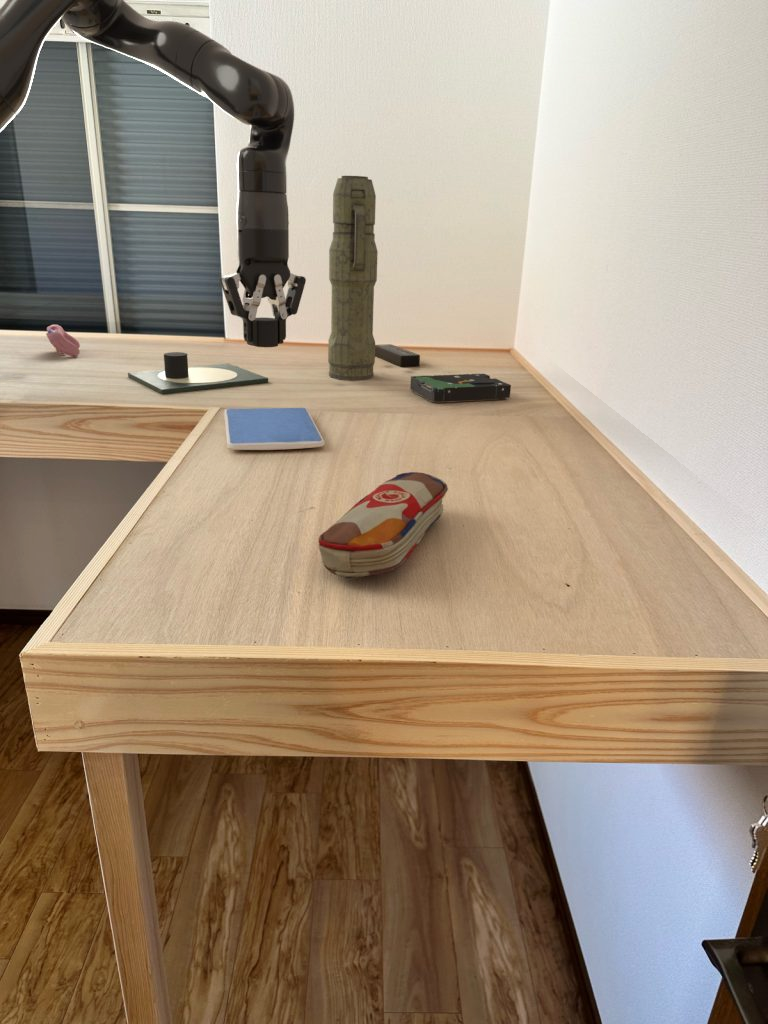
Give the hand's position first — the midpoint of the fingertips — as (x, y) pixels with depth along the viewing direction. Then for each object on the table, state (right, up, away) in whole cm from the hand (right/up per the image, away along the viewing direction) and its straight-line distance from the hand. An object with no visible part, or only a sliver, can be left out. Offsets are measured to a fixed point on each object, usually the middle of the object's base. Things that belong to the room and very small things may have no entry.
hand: (265, 343), depth 114 cm
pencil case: (+19, -29, -45) cm, 57 cm away
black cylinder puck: (0, 0, 0) cm, 0 cm away
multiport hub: (+21, +6, +44) cm, 49 cm away
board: (-15, -2, +19) cm, 24 cm away
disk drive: (+32, -6, +14) cm, 35 cm away
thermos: (+12, 0, +27) cm, 30 cm away
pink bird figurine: (-48, +7, +38) cm, 62 cm away
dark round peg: (-18, -2, +16) cm, 25 cm away
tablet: (+3, -15, -12) cm, 20 cm away
